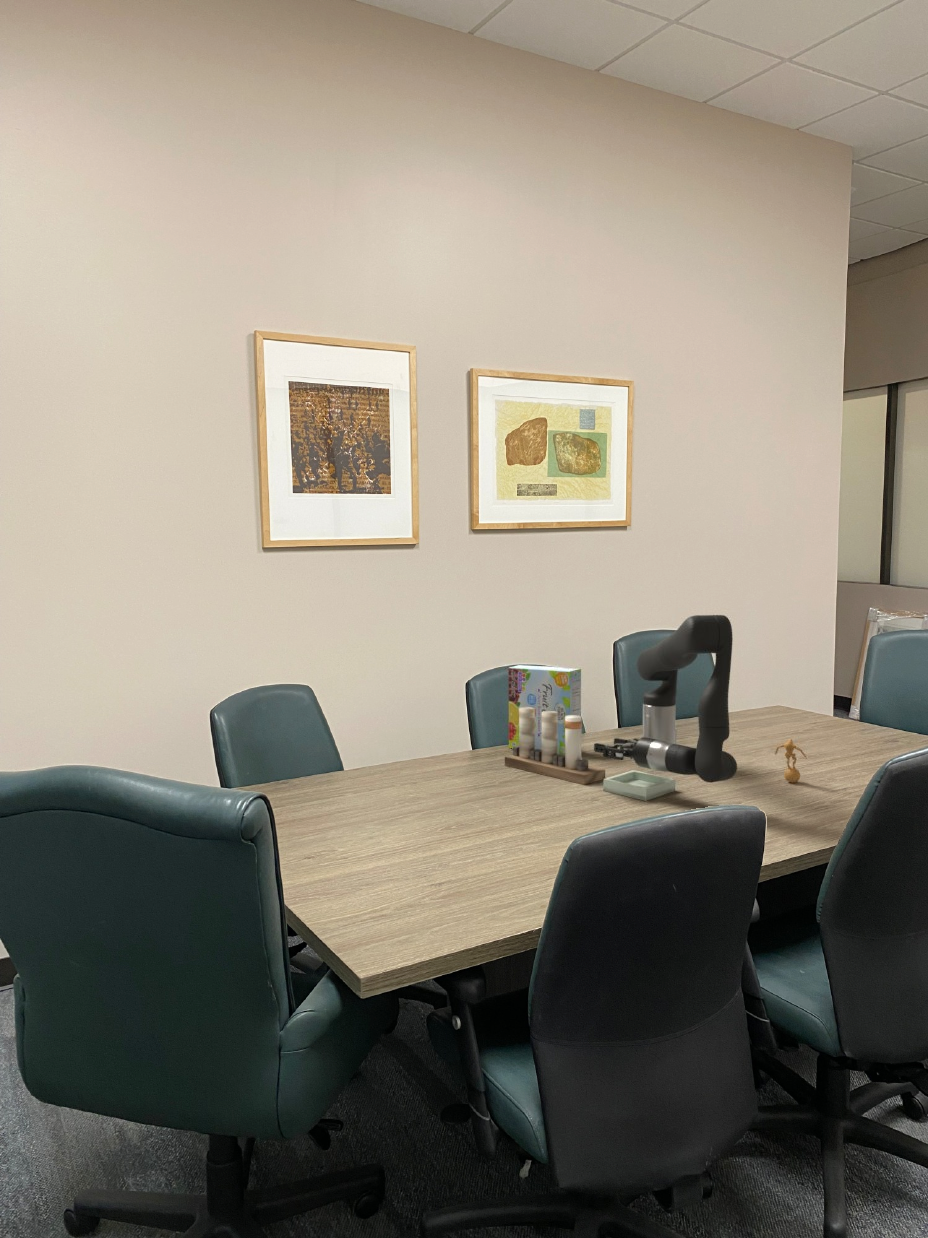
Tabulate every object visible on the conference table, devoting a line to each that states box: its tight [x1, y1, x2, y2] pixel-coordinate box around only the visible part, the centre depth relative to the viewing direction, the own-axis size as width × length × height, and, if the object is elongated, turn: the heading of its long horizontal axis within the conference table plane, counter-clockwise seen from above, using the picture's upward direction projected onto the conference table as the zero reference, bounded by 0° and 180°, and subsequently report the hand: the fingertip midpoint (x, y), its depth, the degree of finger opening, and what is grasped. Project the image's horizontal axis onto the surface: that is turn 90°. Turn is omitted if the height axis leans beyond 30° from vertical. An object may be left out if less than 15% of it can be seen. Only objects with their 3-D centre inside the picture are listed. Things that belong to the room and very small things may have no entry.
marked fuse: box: [565, 715, 583, 769], centre depth 239 cm, size 5×5×14 cm
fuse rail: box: [504, 707, 606, 785], centre depth 244 cm, size 9×29×16 cm, turn 44°
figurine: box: [774, 738, 808, 784], centre depth 230 cm, size 8×6×12 cm
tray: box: [602, 769, 676, 802], centre depth 225 cm, size 13×13×3 cm
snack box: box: [508, 664, 582, 755], centre depth 269 cm, size 22×9×26 cm, turn 58°
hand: (604, 744), depth 231 cm, fingers open, 8 cm apart
